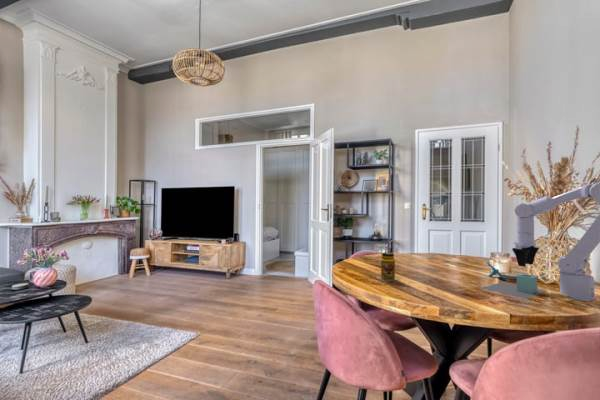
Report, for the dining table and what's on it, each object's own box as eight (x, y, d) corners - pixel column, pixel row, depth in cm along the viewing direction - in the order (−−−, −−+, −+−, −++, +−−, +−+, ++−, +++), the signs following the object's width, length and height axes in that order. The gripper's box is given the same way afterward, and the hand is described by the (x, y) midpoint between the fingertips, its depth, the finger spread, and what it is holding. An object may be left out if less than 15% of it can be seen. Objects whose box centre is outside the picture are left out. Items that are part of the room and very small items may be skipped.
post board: (546, 293, 119) (546, 280, 119) (527, 301, 109) (527, 287, 109) (501, 284, 132) (501, 272, 132) (480, 290, 122) (480, 278, 122)
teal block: (537, 291, 118) (537, 276, 118) (531, 293, 115) (531, 277, 115) (522, 288, 122) (522, 273, 122) (516, 290, 119) (516, 275, 119)
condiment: (387, 281, 136) (387, 255, 136) (374, 277, 144) (374, 252, 144) (399, 279, 140) (399, 253, 140) (386, 276, 147) (386, 251, 147)
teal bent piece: (507, 279, 135) (489, 261, 139) (496, 287, 136) (478, 269, 141) (506, 277, 144) (489, 261, 149) (496, 285, 146) (479, 268, 150)
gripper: (521, 231, 135) (522, 261, 135) (506, 232, 127) (507, 265, 127) (541, 232, 129) (541, 264, 129) (526, 234, 121) (527, 268, 121)
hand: (525, 265), depth 127 cm, fingers open, 7 cm apart
